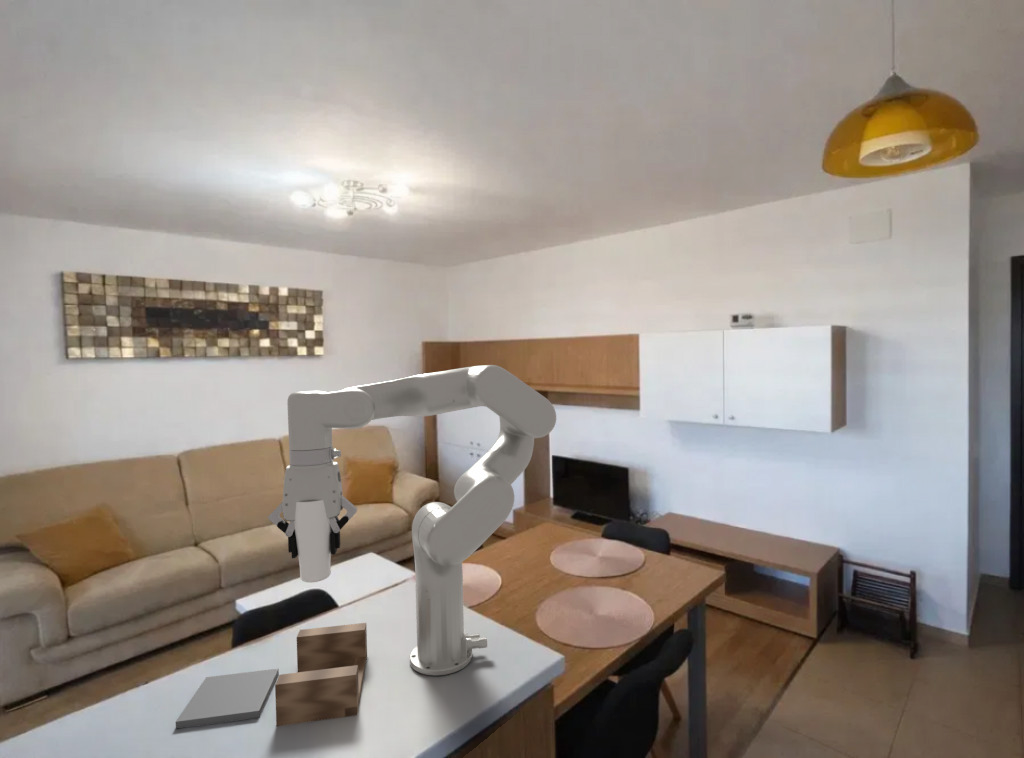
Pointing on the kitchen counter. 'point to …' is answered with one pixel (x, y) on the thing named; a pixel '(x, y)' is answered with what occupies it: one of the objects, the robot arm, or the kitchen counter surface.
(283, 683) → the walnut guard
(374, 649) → the kitchen counter surface
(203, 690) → the slate board
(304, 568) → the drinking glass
